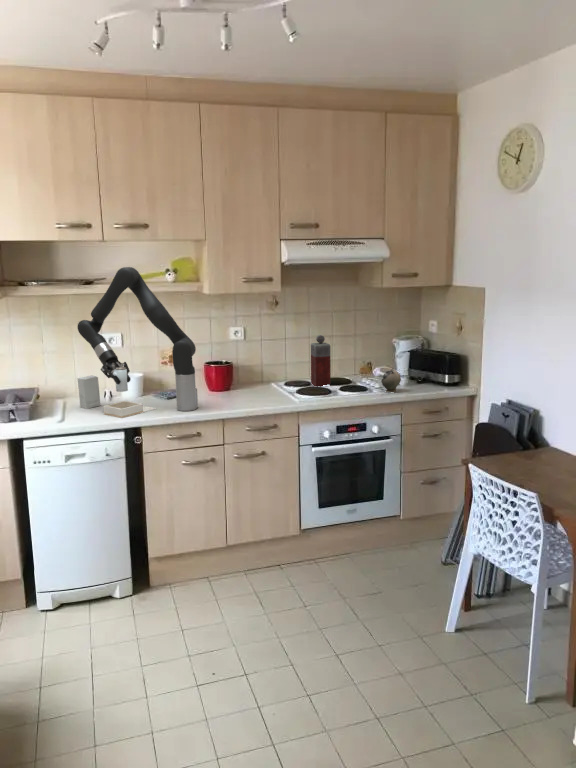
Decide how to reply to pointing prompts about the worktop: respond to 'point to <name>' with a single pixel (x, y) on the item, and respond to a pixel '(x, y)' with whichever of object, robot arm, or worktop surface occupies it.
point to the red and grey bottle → (320, 362)
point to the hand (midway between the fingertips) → (124, 382)
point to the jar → (121, 379)
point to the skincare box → (89, 391)
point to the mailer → (125, 409)
